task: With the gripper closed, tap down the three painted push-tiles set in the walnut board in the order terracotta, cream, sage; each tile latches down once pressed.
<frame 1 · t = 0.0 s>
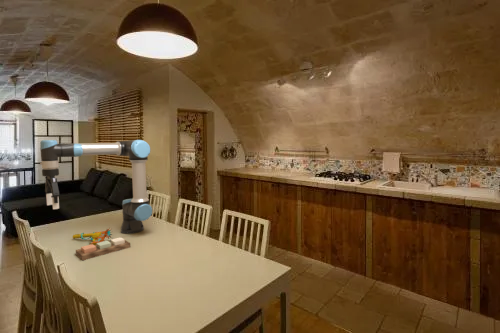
hand: (52, 206, 155), 28 cm above the table, fingers open, 13 cm apart
toy gun: (87, 243, 177), on the table, touching board
tile sage: (103, 245, 165), point 3 cm above the table, slide at 0.0 cm
board: (104, 250, 165), on the table
tile cream: (117, 241, 170), point 3 cm above the table, slide at 0.0 cm
tile terracotta: (88, 248, 159), point 3 cm above the table, slide at 0.0 cm
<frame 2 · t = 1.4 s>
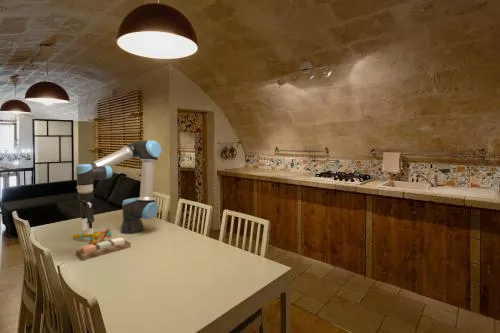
hand: (87, 231, 158), 13 cm above the table, fingers open, 9 cm apart
toy gun: (87, 243, 177), on the table, touching board
everything else where it was.
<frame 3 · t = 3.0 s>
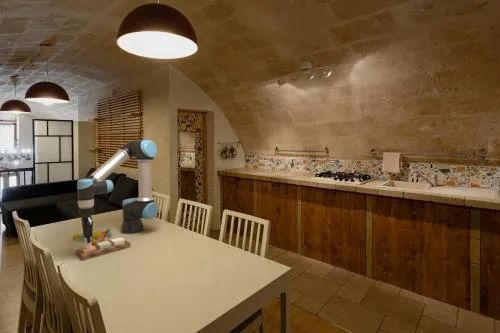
hand: (88, 247, 159), 4 cm above the table, fingers closed
toy gun: (87, 243, 177), on the table, touching board
tile terracotta: (88, 250, 159), point 3 cm above the table, slide at 0.8 cm, touching gripper
everything else where it was.
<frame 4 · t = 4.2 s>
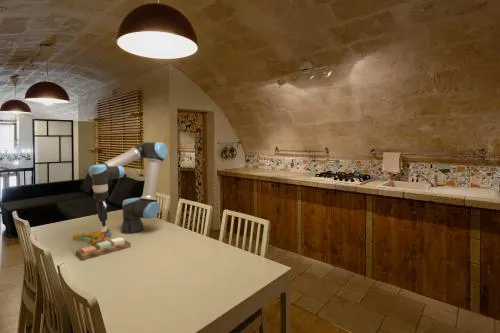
hand: (103, 231, 164), 12 cm above the table, fingers closed
toy gun: (87, 243, 177), on the table, touching board
tile terracotta: (88, 250, 159), point 3 cm above the table, slide at 0.9 cm
everything else where it was.
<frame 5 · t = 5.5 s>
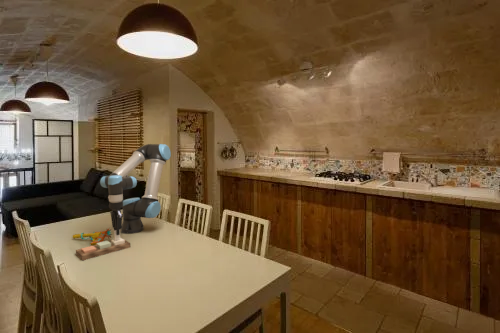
hand: (117, 239, 170), 5 cm above the table, fingers closed
tile cream: (117, 241, 170), point 3 cm above the table, slide at 0.3 cm, touching gripper
everything else where it was.
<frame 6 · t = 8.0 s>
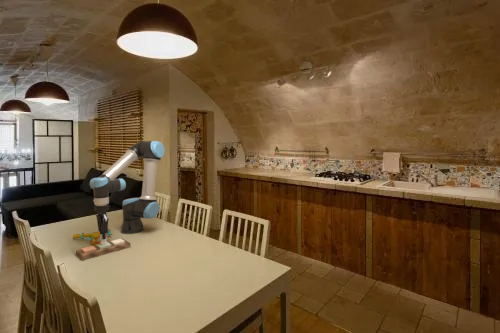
hand: (103, 244, 165), 4 cm above the table, fingers closed
tile sage: (103, 246, 165), point 3 cm above the table, slide at 0.8 cm, touching gripper
tile cream: (117, 242, 171), point 3 cm above the table, slide at 0.9 cm
everything else where it was.
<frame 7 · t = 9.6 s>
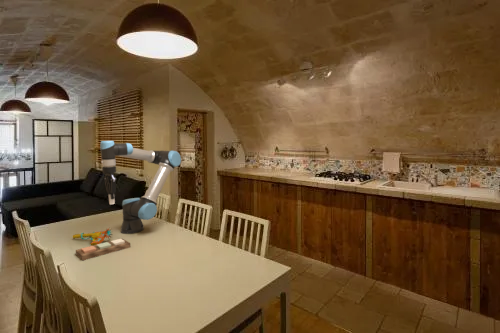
hand: (112, 204, 174), 25 cm above the table, fingers closed
tile sage: (103, 246, 165), point 3 cm above the table, slide at 0.9 cm
everything else where it was.
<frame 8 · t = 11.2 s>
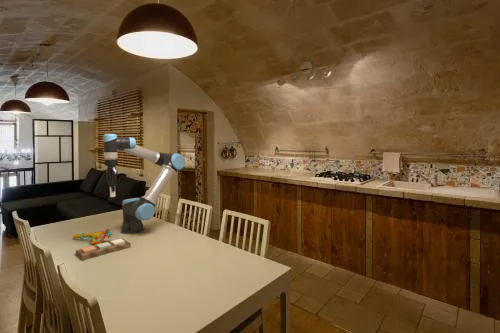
hand: (112, 196, 176), 29 cm above the table, fingers closed
nothing on the table moved.
at the end: tile terracotta slide at 0.9 cm; tile cream slide at 0.9 cm; tile sage slide at 0.9 cm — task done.
